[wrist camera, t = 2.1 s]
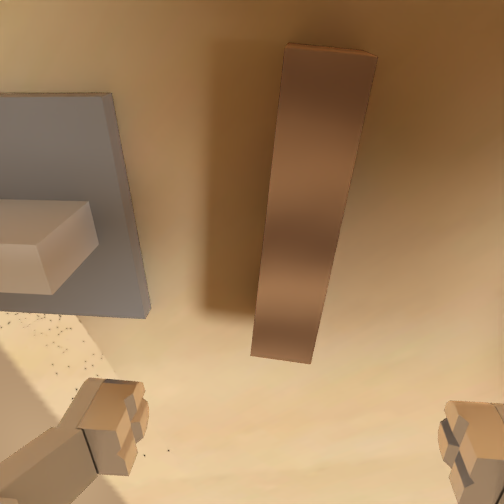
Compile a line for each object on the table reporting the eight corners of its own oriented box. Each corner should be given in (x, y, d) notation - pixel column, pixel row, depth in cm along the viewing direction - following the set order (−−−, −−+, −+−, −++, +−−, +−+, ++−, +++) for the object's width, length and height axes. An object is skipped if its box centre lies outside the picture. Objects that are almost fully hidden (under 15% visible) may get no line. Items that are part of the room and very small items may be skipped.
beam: (288, 42, 19) (284, 47, 15) (362, 49, 19) (377, 57, 15) (257, 308, 27) (250, 355, 23) (309, 314, 27) (310, 364, 23)
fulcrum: (111, 92, 21) (42, 118, 15) (151, 307, 28) (113, 378, 22) (-97, 94, 22) (-230, 118, 17) (-9, 299, 29) (-82, 364, 23)
